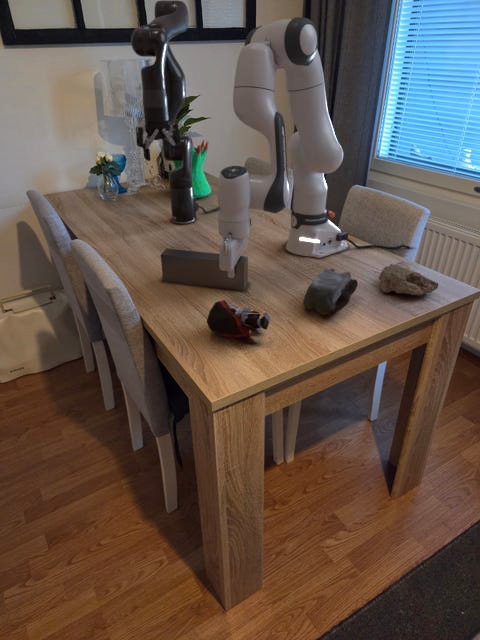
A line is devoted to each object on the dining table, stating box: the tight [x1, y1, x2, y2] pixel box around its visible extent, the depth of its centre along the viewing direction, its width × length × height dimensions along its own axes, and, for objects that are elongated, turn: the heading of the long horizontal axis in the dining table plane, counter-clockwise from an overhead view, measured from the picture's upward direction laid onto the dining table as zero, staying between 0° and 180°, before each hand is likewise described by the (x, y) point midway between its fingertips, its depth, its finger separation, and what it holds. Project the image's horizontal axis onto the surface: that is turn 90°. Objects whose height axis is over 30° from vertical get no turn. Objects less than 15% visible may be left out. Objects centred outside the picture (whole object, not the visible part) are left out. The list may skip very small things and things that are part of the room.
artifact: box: [378, 261, 439, 296], centre depth 132 cm, size 18×7×15 cm
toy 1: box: [168, 137, 212, 200], centre depth 210 cm, size 20×20×25 cm
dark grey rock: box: [302, 268, 359, 317], centre depth 123 cm, size 18×11×8 cm, turn 152°
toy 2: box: [206, 299, 271, 345], centre depth 109 cm, size 12×9×15 cm
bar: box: [160, 247, 249, 292], centre depth 135 cm, size 26×5×9 cm, turn 76°
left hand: (160, 158), depth 147 cm, fingers open, 8 cm apart
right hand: (234, 271), depth 133 cm, fingers open, 5 cm apart
